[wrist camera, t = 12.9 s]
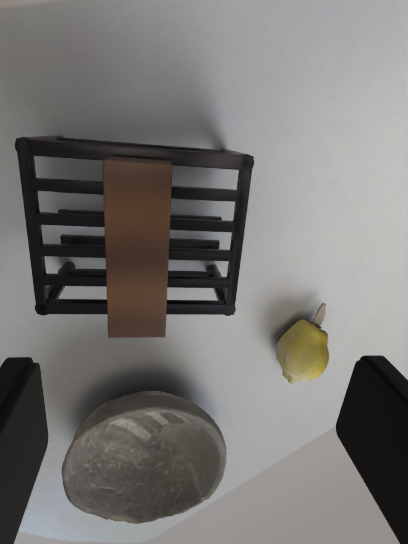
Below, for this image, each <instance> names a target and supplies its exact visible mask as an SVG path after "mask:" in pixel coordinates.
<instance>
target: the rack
mask: <svg viewBox="0 0 408 544" xmlns="http://www.w3.org/2000/svg"><path fill="white" fill-rule="evenodd" d="M15 149H16V151H17V153H18V160H19V169H20V177H21V185H22V194H23V202H24V210H25V218H26V227H27V235H28V243H29V251H30V260H31V268H32V276H33V284H34V293H35V301H36V305H35V311H36V312H37V314H40V315H47V314H108V311H107V300H93V299H58V298H59V296H60V294H61V293H62V291H63V289H64V287H65V286H107V280H106V269H75V265H74V264H73V263H72V262H65V263H64V264H63V266H62V267H61V268H60V269H59V270H58V273H57V274H46V268H45V258H44V256H58V257H95V258H106V249H105V236H89V235H61V236H60V239H61V244H68V245H60V244H43V239H42V229H41V225H63V226H88V227H105V218H104V211H89V210H68V209H60V210H58V213H49V212H40V210H39V201H38V191H52V192H63V193H82V194H100V195H104V187H103V182H99V181H82V180H65V179H49V178H36V172H35V162H34V156H47V157H62V158H76V159H90V160H103V159H105V158H107V157H109V156H115V157H129V158H143V159H157V160H170V161H171V163H172V165H177V166H191V167H205V168H220V169H234V170H239V174H238V183H237V190H231V189H215V188H198V187H182V186H171V198H173V199H192V200H210V201H235V210H234V219H233V221H224V220H222V218H221V217H216V216H195V215H174V214H170V230H187V231H212V232H232V237H231V245H230V250H216V249H219V243H220V242H219V240H198V239H171V238H169V258H168V259H169V260H206V261H229V263H228V272H227V277H221V274H220V272H219V270H218V268H217V267H216V266H214V265H211V266H209V267H208V269H207V272H203V271H168V283H167V287H183V288H213V289H214V291H215V294H216V297H217V299H218V301H207V300H167V307H166V314H224V315H227V316H230V315H234V312H235V310H236V308H235V301H236V293H237V285H238V277H239V269H240V261H241V253H242V245H243V237H244V229H245V221H246V213H247V205H248V197H249V189H250V182H251V174H252V168H253V165H254V160H253V158H254V157H253V156H250V155H248V154H244V153H240V152H236V151H232V150H228V149H221V150H213V149H200V148H188V147H175V146H162V145H149V144H136V143H124V142H111V141H98V140H85V139H72V138H64V137H62V136H38V137H21V138H16V142H15ZM91 245H99V246H91ZM185 248H192V249H185ZM47 286H48V287H47Z"/></svg>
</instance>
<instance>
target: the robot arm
mask: <svg viewBox="0 0 408 544" xmlns="http://www.w3.org/2000/svg"><path fill="white" fill-rule="evenodd" d="M336 432H337V435H338V437H339V439H340V441H341V442H342V444H343V446H344V447H345V449H346V451H347V453H348V455H349V456H350V458H351V460H352V462H353V463H354V465H355V467H356V468H357V470H358V472H359V474H360V475H361V477H362V478H363V480H364V482H365V484H366V486H367V487H368V489H369V491H370V493H371V494H372V496H373V498H374V499H375V501H376V503H377V504H378V506H379V508H380V510H381V511H382V513H383V515H384V517H385V518H386V520H387V522H388V523H389V525H390V527H391V529H392V530H393V532H394V534H395V536H396V537H397V539H398V541H399V542H400V544H408V380H407V379H406V378H405V377H404V376H403V375H402V374H401V373H400V372H399V371H398V370H397V369H396V368H395V367H394V366H393V365H392V364H391V363H390V362H389V361H388V360H387V359H386V358H385V357H383V356H362V357H361V358H360V360H359V361H357V362H356V364H355V366H354V369H353V372H352V376H351V379H350V382H349V385H348V388H347V391H346V395H345V398H344V401H343V404H342V407H341V410H340V414H339V417H338V420H337V423H336ZM47 444H48V429H47V420H46V412H45V404H44V396H43V388H42V379H41V371H40V365H39V363H33V360H32V358H30V357H16V358H7V359H6V360H5V361H4V362H3V364H2V365H1V367H0V544H14V541H15V538H16V535H17V532H18V530H19V527H20V524H21V521H22V518H23V515H24V512H25V509H26V507H27V504H28V501H29V498H30V495H31V492H32V489H33V486H34V483H35V481H36V478H37V475H38V472H39V469H40V466H41V463H42V460H43V458H44V455H45V452H46V449H47Z"/></svg>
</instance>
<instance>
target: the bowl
mask: <svg viewBox="0 0 408 544" xmlns="http://www.w3.org/2000/svg"><path fill="white" fill-rule="evenodd" d="M225 465H226V446H225V442H224V438H223V436H222V433H221V431H220V429H219V427H218V426H217V424H216V423H215V422H214V420H213V419H212V418H211V417H210V416H209V415H208V414H207V413H206V412H205V411H204V410H203V409H201V408H200V407H198V406H197V405H195V404H194V403H192V402H190V401H188V400H186V399H183V398H180V397H178V396H175V395H172V394H169V393H165V392H161V391H143V392H138V393H132V394H129V395H125V396H122V397H119V398H116V399H113V400H111V401H107V402H105V403H103V404H102V405H100V406H99V407H98V408H96V409H95V410H94V411H93V412H92V413H91V414H90V415H89V416H88V418H87V419H86V420H85V422H84V423H83V424H82V425H81V427H80V428H79V429H78V430H77V432H76V434H75V436H74V439H73V441H72V443H71V445H70V447H69V449H68V451H67V453H66V456H65V459H64V462H63V465H62V478H63V486H64V489H65V493H66V496H67V498H68V499H69V501H70V502H71V503H72V504H73V505H74V506H75V507H77V508H78V509H80V510H82V511H84V512H86V513H89V514H94V515H97V516H99V517H102V518H104V519H110V520H114V521H126V522H128V523H133V524H138V523H143V522H150V521H154V520H157V519H159V518H164V517H167V516H173V515H176V514H180V513H183V512H185V511H187V510H189V509H191V508H192V507H194V506H197V505H199V504H200V503H202V502H203V500H207V499H208V498H210V496H211V495H212V494H213V493H214V491H215V490H216V488H217V487H218V485H219V484H220V482H221V480H222V478H223V474H224V470H225Z"/></svg>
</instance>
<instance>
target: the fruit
mask: <svg viewBox="0 0 408 544" xmlns="http://www.w3.org/2000/svg"><path fill="white" fill-rule="evenodd" d="M324 316H325V304H324V303H322V304H321V306H320V307H319V309H318V311H317V313H316V315H315V318H314V319H313V321H312V322H311V323H310V322H308V321H307V320H299V321H297V322H296V323H295V324H294V325H293V326H292V327H291V328H290V329H289V330H288V331H287V332H286V333H284V334H283V336H282V337H281V338H280V339H279V341H278V343H277V346H276V356H277V359H278V361H279V363H280V365H281V368H282V370H283V374H282V375H283V376H284V377H285V378H286V379H288V382H289V383H291V384H293V383H295V382H298V381H301V380H308V381H309V380H314V379H316V378H317V377H319V376H320V375H321V374H322V373H323V372H324V370H325V368H326V366H327V364H328V360H329V352H328V348H327V343H328V334H327V333H326V331H323V330H321V329H319V328H321V327H320V325H321V323H322V321H323V319H324ZM317 327H318V328H317Z"/></svg>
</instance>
